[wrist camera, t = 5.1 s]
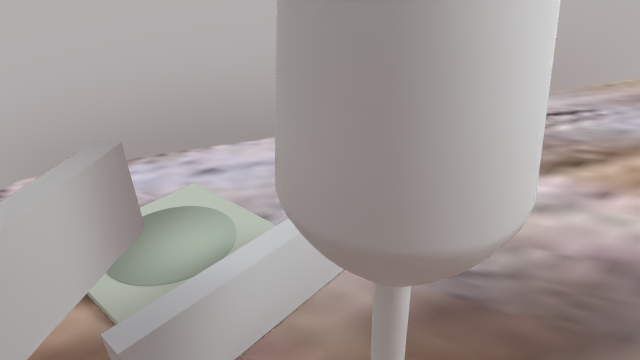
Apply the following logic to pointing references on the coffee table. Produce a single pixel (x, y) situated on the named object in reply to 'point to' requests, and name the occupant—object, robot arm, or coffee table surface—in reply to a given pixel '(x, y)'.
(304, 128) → the champagne flute
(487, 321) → the coffee table surface
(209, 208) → the resting pad
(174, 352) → the low wall
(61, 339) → the coffee table surface
